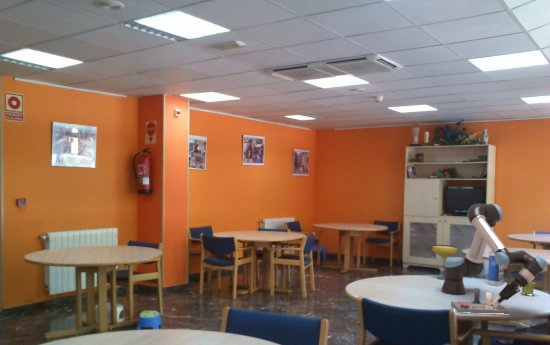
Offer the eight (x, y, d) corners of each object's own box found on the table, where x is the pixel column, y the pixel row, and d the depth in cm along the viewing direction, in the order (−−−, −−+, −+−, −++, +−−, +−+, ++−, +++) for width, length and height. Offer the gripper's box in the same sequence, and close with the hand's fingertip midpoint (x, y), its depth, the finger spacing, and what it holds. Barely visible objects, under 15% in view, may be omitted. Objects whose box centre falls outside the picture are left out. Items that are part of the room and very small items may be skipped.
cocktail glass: (460, 279, 367) (461, 247, 367) (449, 282, 354) (450, 249, 354) (438, 275, 380) (439, 244, 380) (427, 278, 367) (428, 245, 368)
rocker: (488, 304, 282) (487, 301, 282) (485, 302, 286) (485, 299, 286) (498, 302, 281) (498, 299, 281) (496, 301, 285) (495, 297, 285)
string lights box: (498, 286, 346) (499, 251, 346) (487, 284, 351) (488, 249, 351) (503, 283, 356) (504, 249, 356) (492, 282, 361) (493, 248, 361)
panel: (459, 313, 273) (459, 304, 273) (451, 305, 289) (451, 297, 289) (509, 315, 271) (509, 307, 271) (498, 307, 287) (498, 300, 287)
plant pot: (530, 293, 327) (530, 280, 327) (538, 296, 318) (538, 284, 318) (517, 293, 327) (517, 280, 327) (524, 296, 317) (525, 283, 317)
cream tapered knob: (485, 308, 274) (486, 293, 274) (483, 307, 277) (484, 292, 277) (492, 308, 273) (493, 293, 273) (490, 307, 276) (491, 292, 276)
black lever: (474, 304, 283) (474, 289, 283) (472, 302, 286) (472, 288, 286) (481, 304, 283) (481, 289, 283) (479, 303, 286) (479, 288, 286)
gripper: (533, 285, 267) (502, 313, 268) (523, 280, 280) (493, 307, 281) (524, 275, 267) (493, 303, 268) (514, 271, 280) (484, 297, 281)
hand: (493, 305), depth 275 cm, fingers closed
